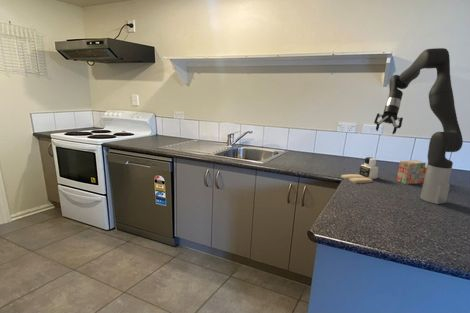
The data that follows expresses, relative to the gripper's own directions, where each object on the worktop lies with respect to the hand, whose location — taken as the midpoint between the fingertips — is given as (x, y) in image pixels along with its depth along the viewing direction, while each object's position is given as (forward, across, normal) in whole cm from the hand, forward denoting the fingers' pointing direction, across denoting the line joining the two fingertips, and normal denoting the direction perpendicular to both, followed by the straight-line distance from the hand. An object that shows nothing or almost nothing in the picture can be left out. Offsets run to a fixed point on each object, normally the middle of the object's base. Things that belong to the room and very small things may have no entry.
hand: (385, 132), depth 160 cm
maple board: (+32, -8, -2) cm, 33 cm away
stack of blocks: (+22, +23, +12) cm, 34 cm away
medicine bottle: (+28, -2, +6) cm, 29 cm away
